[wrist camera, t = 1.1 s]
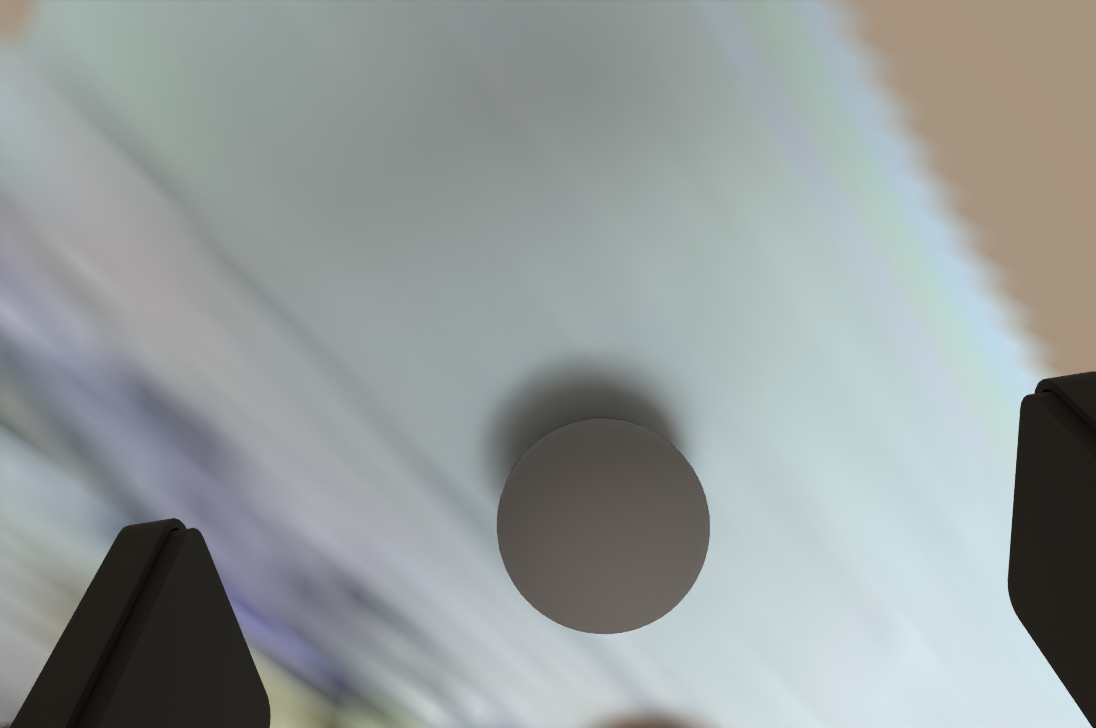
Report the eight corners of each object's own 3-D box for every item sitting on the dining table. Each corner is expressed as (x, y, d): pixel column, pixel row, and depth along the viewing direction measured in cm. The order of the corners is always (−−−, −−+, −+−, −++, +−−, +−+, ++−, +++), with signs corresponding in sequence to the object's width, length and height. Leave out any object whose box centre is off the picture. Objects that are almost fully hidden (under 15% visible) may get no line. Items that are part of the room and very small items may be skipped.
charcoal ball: (697, 529, 32) (738, 663, 27) (514, 557, 32) (518, 696, 27) (679, 366, 29) (721, 479, 24) (480, 398, 29) (476, 518, 24)
